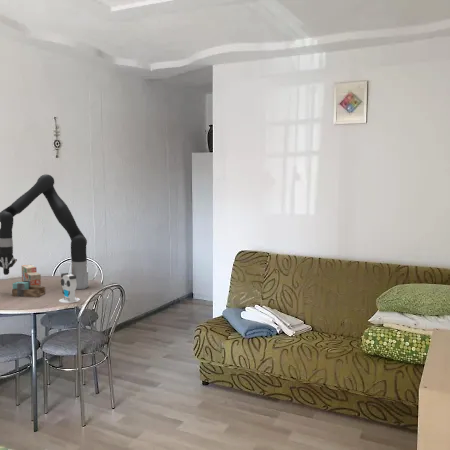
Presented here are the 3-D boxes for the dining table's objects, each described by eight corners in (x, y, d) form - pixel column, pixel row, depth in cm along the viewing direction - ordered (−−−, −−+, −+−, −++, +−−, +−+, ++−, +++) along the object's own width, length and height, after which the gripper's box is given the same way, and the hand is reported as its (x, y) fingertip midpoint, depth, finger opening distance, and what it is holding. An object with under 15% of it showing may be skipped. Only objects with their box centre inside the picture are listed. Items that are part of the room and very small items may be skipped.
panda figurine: (55, 299, 273) (54, 273, 271) (73, 296, 281) (73, 271, 279) (64, 304, 264) (64, 277, 263) (83, 300, 272) (83, 274, 271)
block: (28, 292, 285) (28, 282, 285) (24, 294, 280) (23, 284, 280) (17, 291, 286) (17, 281, 285) (12, 293, 281) (12, 283, 280)
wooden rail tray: (45, 293, 286) (44, 281, 285) (38, 297, 278) (38, 284, 277) (19, 292, 288) (19, 280, 287) (12, 296, 279) (12, 283, 279)
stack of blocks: (41, 289, 298) (40, 269, 297) (30, 290, 295) (30, 270, 293) (31, 282, 315) (31, 264, 314) (21, 283, 312) (21, 265, 311)
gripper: (19, 245, 284) (20, 273, 286) (-2, 244, 286) (-1, 272, 287) (13, 246, 277) (13, 276, 279) (-9, 245, 278) (-8, 275, 280)
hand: (6, 274), depth 283 cm, fingers closed
